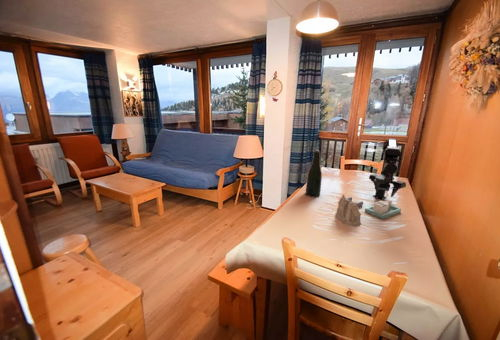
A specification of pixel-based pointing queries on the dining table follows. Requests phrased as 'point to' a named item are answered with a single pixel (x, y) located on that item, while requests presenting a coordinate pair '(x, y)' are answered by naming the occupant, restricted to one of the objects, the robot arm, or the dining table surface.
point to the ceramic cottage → (348, 212)
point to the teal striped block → (382, 206)
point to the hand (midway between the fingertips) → (383, 194)
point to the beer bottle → (314, 176)
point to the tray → (390, 212)
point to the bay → (354, 202)
